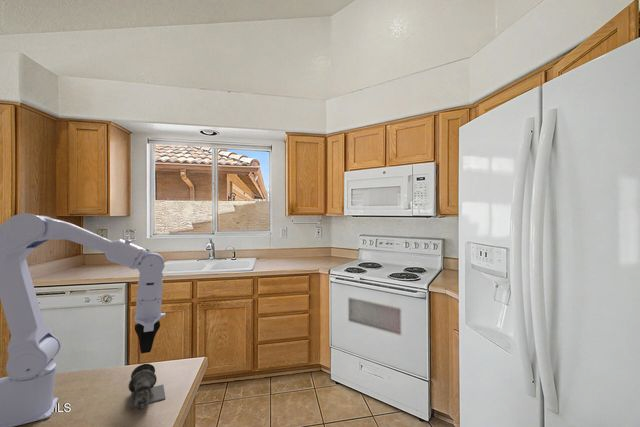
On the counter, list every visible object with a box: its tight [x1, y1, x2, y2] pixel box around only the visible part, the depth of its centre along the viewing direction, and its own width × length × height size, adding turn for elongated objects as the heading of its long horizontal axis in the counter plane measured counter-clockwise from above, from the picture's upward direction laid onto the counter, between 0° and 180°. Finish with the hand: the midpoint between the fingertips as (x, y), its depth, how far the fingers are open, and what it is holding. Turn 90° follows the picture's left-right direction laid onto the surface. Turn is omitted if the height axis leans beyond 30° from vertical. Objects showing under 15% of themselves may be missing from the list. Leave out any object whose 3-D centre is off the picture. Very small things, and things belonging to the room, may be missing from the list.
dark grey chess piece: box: [128, 363, 157, 410], centre depth 66 cm, size 6×6×12 cm
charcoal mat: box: [130, 384, 166, 409], centre depth 68 cm, size 7×7×1 cm
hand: (145, 351), depth 71 cm, fingers closed
